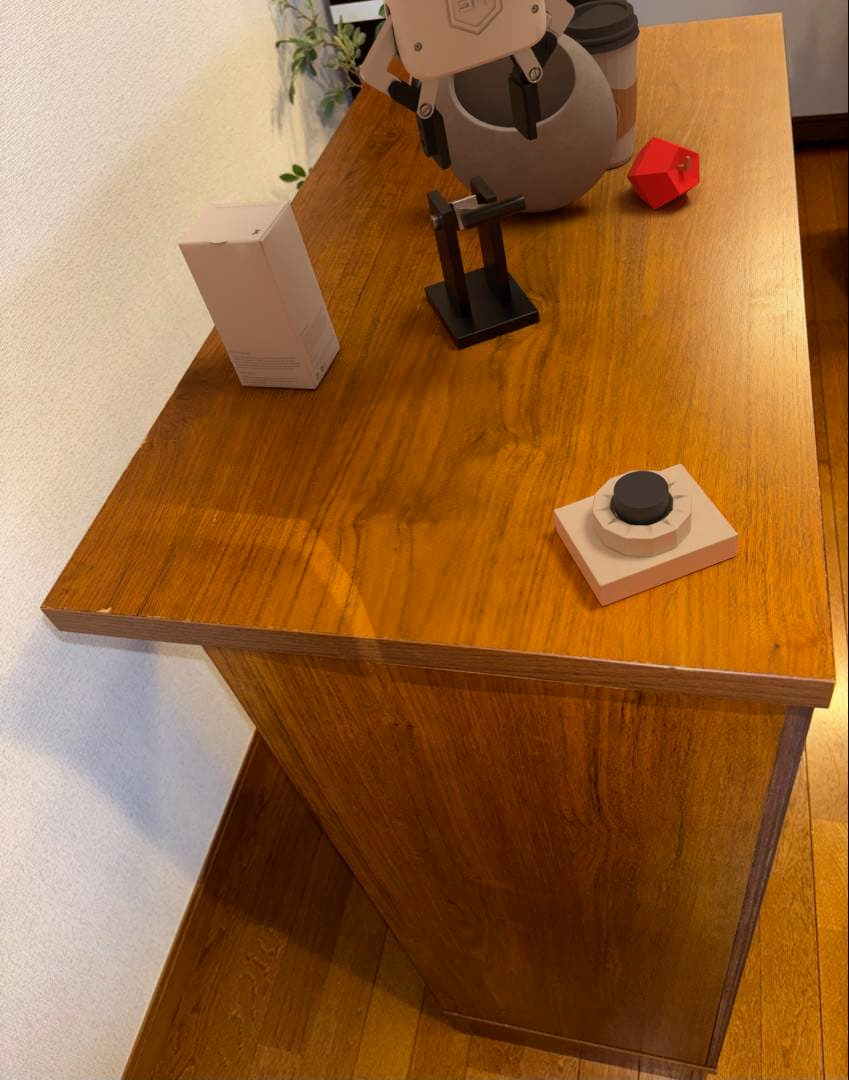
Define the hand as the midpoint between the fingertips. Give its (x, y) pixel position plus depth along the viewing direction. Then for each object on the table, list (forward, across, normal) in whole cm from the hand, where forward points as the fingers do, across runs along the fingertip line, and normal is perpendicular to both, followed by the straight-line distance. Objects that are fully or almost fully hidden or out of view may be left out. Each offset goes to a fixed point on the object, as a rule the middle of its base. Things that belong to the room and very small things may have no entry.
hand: (483, 145), depth 73 cm
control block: (+20, 0, -25) cm, 32 cm away
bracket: (+20, 0, +9) cm, 22 cm away
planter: (+20, +11, +23) cm, 32 cm away
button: (+16, 0, -25) cm, 30 cm away
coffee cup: (+20, +22, +29) cm, 42 cm away
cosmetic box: (+20, -19, +10) cm, 29 cm away
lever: (+9, 0, +4) cm, 10 cm away
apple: (+20, +23, +17) cm, 35 cm away
